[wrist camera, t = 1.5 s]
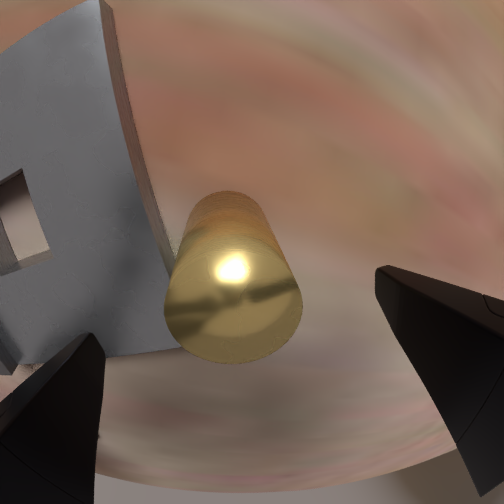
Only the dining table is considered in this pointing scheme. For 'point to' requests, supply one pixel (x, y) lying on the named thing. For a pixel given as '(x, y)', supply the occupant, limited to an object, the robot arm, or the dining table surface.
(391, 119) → the dining table surface
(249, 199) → the gold rounded cylinder
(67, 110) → the jig
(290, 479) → the dining table surface
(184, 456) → the dining table surface
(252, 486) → the dining table surface
